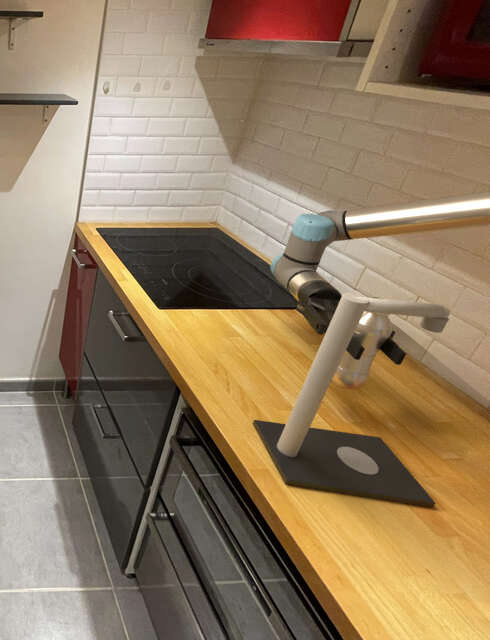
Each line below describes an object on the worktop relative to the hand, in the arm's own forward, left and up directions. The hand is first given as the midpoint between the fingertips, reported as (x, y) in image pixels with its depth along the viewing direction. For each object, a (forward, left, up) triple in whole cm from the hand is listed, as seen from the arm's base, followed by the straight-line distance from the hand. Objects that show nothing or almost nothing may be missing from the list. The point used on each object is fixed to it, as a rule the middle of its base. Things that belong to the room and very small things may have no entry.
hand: (380, 356), depth 84 cm
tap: (+7, +10, -18) cm, 22 cm away
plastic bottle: (0, -5, -11) cm, 12 cm away
